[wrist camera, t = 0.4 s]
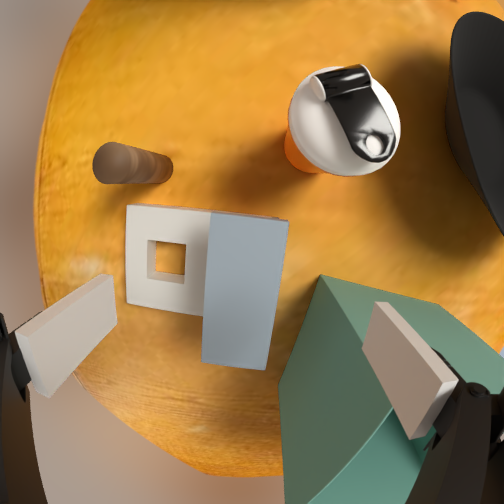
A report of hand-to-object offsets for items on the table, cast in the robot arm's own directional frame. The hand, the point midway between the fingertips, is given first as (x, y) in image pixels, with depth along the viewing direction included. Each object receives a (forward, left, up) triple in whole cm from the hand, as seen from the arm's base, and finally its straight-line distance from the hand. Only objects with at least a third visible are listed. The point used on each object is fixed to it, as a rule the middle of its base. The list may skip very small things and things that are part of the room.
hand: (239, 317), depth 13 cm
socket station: (+5, -7, -25) cm, 27 cm away
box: (+17, +20, -26) cm, 37 cm away
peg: (-7, -14, -25) cm, 30 cm away
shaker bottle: (-12, +6, -26) cm, 29 cm away
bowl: (-22, +36, -26) cm, 50 cm away
